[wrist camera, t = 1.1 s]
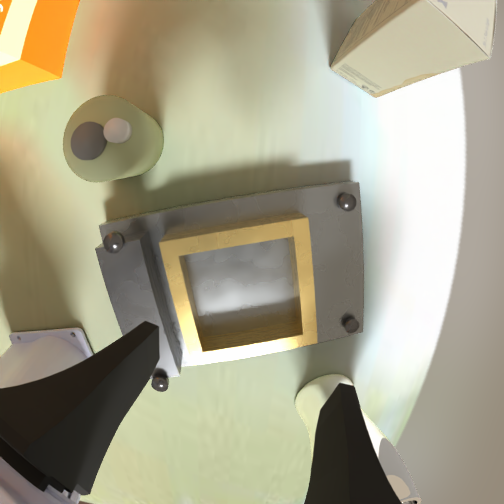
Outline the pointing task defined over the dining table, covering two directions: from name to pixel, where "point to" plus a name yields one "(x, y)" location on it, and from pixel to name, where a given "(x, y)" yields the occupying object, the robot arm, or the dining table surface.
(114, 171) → the spout can
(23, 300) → the dining table surface
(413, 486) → the beer glass
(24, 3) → the orange juice
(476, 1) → the skincare box
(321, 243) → the grey metal fixture plate
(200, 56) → the dining table surface
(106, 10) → the dining table surface
